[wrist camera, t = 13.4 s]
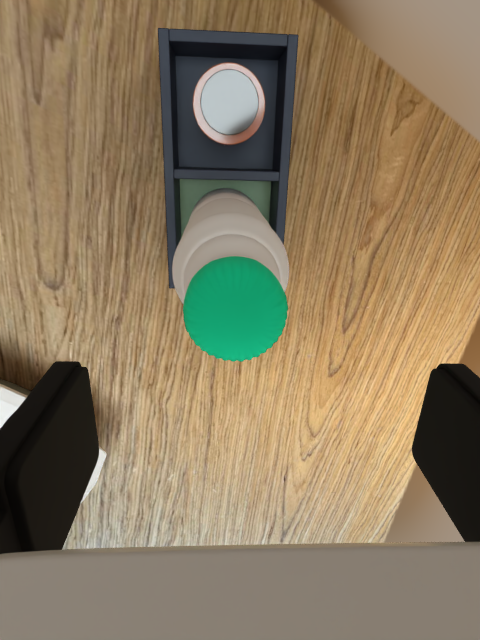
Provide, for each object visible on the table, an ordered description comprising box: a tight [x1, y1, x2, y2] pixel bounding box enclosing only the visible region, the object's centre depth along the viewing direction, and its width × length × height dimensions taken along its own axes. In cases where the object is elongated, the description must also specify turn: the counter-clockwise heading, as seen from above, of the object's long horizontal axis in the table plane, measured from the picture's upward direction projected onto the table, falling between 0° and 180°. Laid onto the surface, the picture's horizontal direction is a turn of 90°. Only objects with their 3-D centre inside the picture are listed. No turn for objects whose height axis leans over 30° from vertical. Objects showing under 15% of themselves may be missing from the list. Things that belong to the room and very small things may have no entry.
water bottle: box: [172, 188, 289, 361], centre depth 29 cm, size 7×7×25 cm
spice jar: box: [193, 62, 265, 147], centre depth 32 cm, size 5×5×10 cm
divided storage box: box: [158, 28, 298, 288], centre depth 37 cm, size 11×20×6 cm, turn 178°
